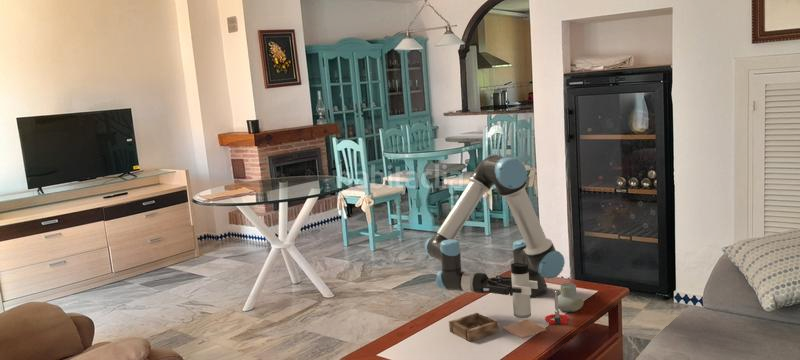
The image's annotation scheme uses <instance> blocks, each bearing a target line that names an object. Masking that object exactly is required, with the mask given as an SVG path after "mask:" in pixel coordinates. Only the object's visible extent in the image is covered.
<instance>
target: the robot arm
mask: <svg viewBox="0 0 800 360" xmlns="http://www.w3.org/2000/svg"><path fill="white" fill-rule="evenodd" d="M526 177H527V168H526V167H525V165H524V163H523V162H522V161H520V160H519V159H518V158H515V157H512V156H501V155H496V154H493V155H489V156H487V157H486V158H484V159H483V160H481V162H480V163H479V164H478V165H477V166H476V167H475V169H474V171H472V173H471V175H470V176H469V177H468V180H469V182H468V184H467V185H466V187H465V189H464V190H463V191H462V193H461V195H460V197H459V198H458V199H457V201H456V202H455V204H454V205H453V207H452V209H451V210H450V212H449V213H448V215H447V216H446V218H445V220H444V221H443V223H442V224H441V225H440V227H439V229H438V230H437V232H436V233H435V235H434V236H433V237H429V238H428V239H427V240H426V241H425V244H424V249H425V252H426V253H427V254H428V255H429V256H430V257H431V258H435V259H436V260H437V261H440V262H441V269H440V270H439V271H438V272H437V273H436V278H435V280H436V281H435V282H436V286H437V287H438V288H439V289H442V290H447V291H456V292H457V291H458V292H467V293H469V294H470V293H476V294H495V295H504V296H510V297H511V296H512V297H513V293H515V294H526V295H530V298H533V297H534V298H535V297H540V296H543V295H545V294H547V293H548V284H547V282H546V280H545V278H546V279H554V278H556V277H558V276H559V275H560V274H561V273H562V272H563V270H564V267H565V263H566V262H565V258H564V255H563V254H562V253H561V252H560V251H558V250H556V248H555V245H554V243H553V241H552V240H551V239H550V238H547V237H546V235H545V232H544V229H543V227H542V225H541V223H540V221H539V218H538V216H537V214H536V212H535V209H534V207H533V204H532V202H531V200H530V197H529V195H528V193H527V190H526V186H527V185H528V183H527V178H526ZM493 186H495V188H496V190H497V192H498V194H499V196H501V197H504V198H505V201H506V203H507V206H508V207H509V210H510V212H511V215H512V217H513V219H514V221H515V223H516V225H517V228H518V231H519V232H520V234H521V237H522V239H517V240H515V241H513V243H512V256H513V263H522V264H528V271H529V287H525V286H513V288H512V277H511V276H502V275H496V276H495V277H490V278H489V277H488V275H487V274H486V273H483V272H474V271H473V272H472V271H463V270H462V259H461V256H462V255H461V247H460V242H459V241H458V240H457V239H456V238H457V236H458V235H459V234H460V232H461V230H462V228H463V227H464V225H465V224H466V222H467V220H469V218H470V216H471V214H473V212H474V210H475V209H476V207H477V205H478V204H479V202H480V201H481V200H482V198H483V196H484V195H485V193H487V192H490V190H491V188H492V187H493Z"/></svg>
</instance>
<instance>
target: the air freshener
mask: <svg viewBox="0 0 800 360" xmlns="http://www.w3.org/2000/svg"><path fill="white" fill-rule="evenodd" d="M557 296H558V309H559V311H560V310H561V311H562V312H569V313H574V312H577V311H578V310H581V308H582V307H583V306H584V298H583V297H582V296H581V295H579V294H577V284H575V283H572V282H563V283H562V284H561V285H560V294H559V295H557Z"/></svg>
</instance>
